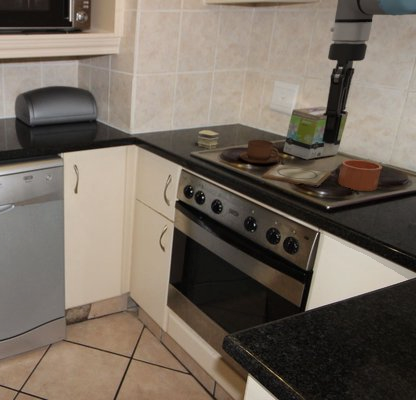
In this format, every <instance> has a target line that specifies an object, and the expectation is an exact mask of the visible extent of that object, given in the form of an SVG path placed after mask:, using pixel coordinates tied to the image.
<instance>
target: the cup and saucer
mask: <svg viewBox="0 0 416 400" xmlns="http://www.w3.org/2000/svg"><path fill="white" fill-rule="evenodd" d="M273 151H275V153H273ZM245 155H247V156H248V158H249V159H247V158H244V157H243V156H245ZM238 157H239V158H240V159H241V160H243V161H245V162H248V163H251V164H257V163H258V165H268V164H273V163H276V162H278V161H279V159H280V156H279V150H278V149H277V148H275V147H274V142H272V141H269V140H264V139H251V140H248V142H247V150H244V151H240V152H239V153H238ZM270 158H272V161H267V160H269V159H270Z"/></svg>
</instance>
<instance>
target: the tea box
mask: <svg viewBox="0 0 416 400" xmlns="http://www.w3.org/2000/svg"><path fill="white" fill-rule="evenodd" d="M326 108H327V106H313V107H305V108H296V109H295V108H294V109H292V113H291V115H290V120H289V125H288V128H287V133H286V138H285V142H284V146H283V153H286V154H289V155H292V156H295V157H298V158H301V159H305V160H311V159H315V158H321V157H322V158H323V157H328V156H329V157H330V155H323V154H322V153H323V148H324V143H325V142H322V140H323V134H324V129H325V124H326V118H327V116H324V113H325V112H326ZM348 114H349V112H348V111H347V113H346V114H340V115H342V120H341V125H340V130H339V135H338V140H337V141H335V143H334V148H333V153H332V155H331V156H336V155H338V153H339V149H340V145H341V141H342V138H343V133H344V130H345V127H346V123H347V119H348Z"/></svg>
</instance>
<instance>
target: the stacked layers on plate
mask: <svg viewBox="0 0 416 400" xmlns="http://www.w3.org/2000/svg"><path fill="white" fill-rule="evenodd" d="M216 135H219V133H218V132H216V131H213V130H207V129H206V130H205V129H204V130H200V131H198V136H197V137H198V140H197V146H198V147H201V148H202V147H203V148H206V149H209V150H212V149H217V145H218V144H219V143H218V140H219V139H220V137H218V136H216Z"/></svg>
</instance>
